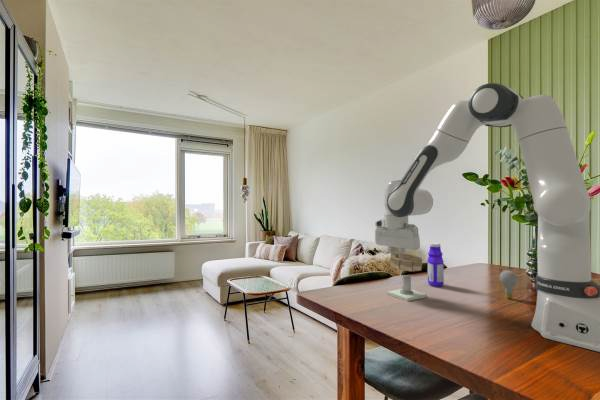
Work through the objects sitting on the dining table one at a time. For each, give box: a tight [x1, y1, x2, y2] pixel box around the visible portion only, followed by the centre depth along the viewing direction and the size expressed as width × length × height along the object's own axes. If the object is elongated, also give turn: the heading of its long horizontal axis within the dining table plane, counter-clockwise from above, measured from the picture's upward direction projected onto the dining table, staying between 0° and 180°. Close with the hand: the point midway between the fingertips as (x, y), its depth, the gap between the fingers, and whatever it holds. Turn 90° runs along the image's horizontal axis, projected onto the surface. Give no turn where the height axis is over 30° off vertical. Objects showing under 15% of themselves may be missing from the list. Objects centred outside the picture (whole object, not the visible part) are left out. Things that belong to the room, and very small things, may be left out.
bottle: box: [426, 242, 445, 288], centre depth 136 cm, size 7×6×17 cm
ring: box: [389, 252, 423, 272], centre depth 121 cm, size 11×11×4 cm
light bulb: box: [499, 269, 519, 300], centre depth 116 cm, size 5×6×10 cm
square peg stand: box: [386, 275, 428, 302], centre depth 121 cm, size 10×10×7 cm
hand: (396, 259), depth 125 cm, fingers closed on ring, 2 cm apart
